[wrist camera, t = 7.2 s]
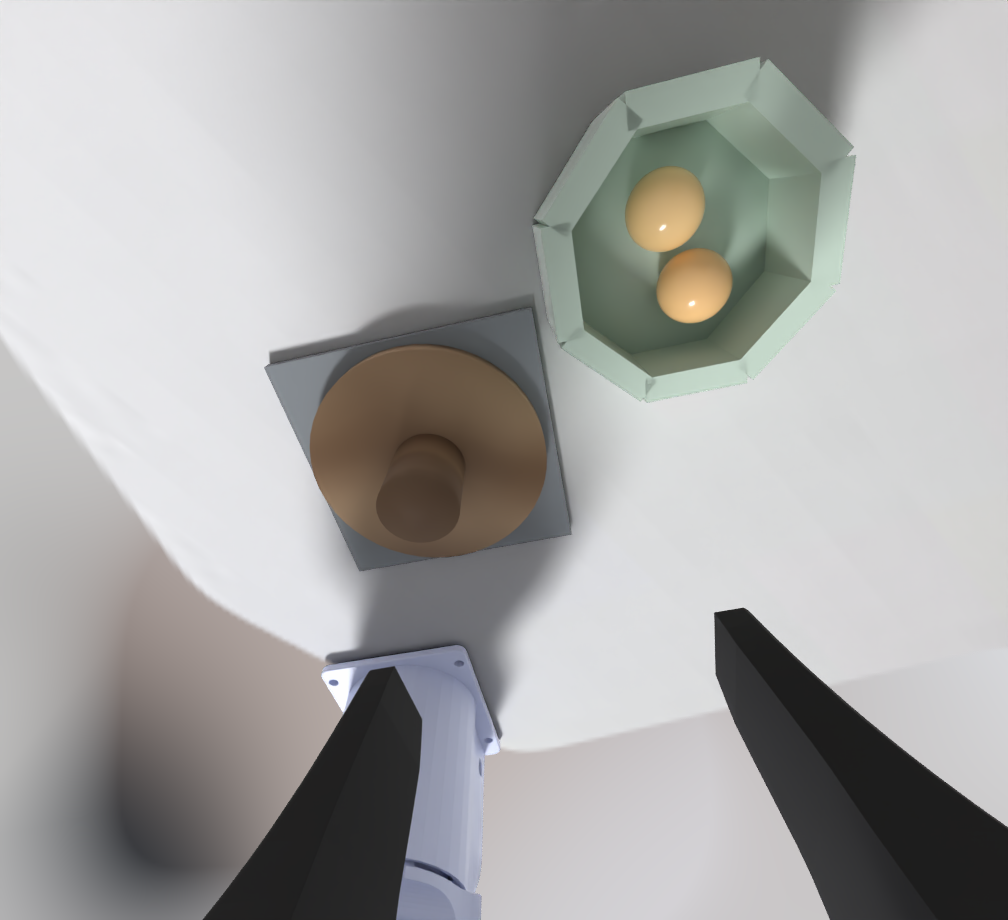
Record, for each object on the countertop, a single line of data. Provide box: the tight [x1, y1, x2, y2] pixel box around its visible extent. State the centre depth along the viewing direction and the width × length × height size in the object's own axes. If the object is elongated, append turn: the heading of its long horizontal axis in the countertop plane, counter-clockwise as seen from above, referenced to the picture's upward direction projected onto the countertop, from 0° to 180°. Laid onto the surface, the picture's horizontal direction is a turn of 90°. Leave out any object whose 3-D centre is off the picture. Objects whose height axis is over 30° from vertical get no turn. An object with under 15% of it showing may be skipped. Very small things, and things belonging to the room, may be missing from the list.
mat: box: [264, 307, 571, 571], centre depth 19 cm, size 10×10×1 cm
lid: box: [310, 344, 547, 558], centre depth 17 cm, size 9×9×4 cm
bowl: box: [532, 57, 856, 403], centre depth 14 cm, size 8×8×3 cm
